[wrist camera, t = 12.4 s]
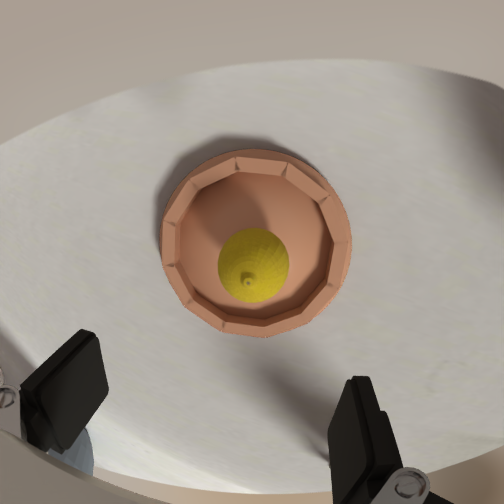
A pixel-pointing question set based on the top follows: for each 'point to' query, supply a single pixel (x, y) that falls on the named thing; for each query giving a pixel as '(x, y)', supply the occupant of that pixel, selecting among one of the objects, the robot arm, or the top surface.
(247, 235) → the lemon
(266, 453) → the top surface
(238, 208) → the dish
